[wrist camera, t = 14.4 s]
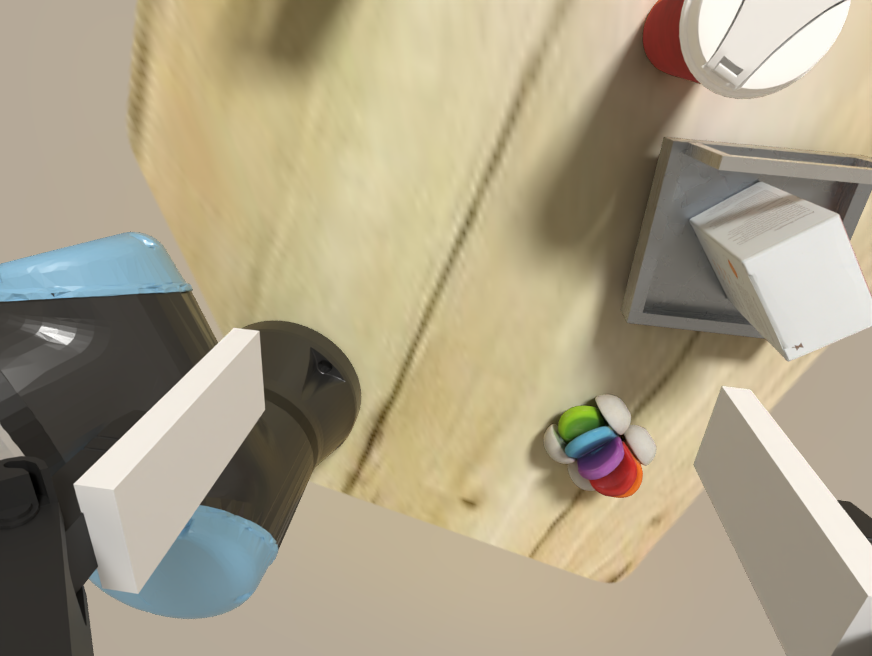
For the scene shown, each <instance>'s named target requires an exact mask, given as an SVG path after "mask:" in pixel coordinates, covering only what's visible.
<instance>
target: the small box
mask: <svg viewBox="0 0 872 656" xmlns="http://www.w3.org/2000/svg"><path fill="white" fill-rule="evenodd" d="M689 222H690V224H691V225H692V227H693V229H694V231H695V233H696V235H697V237H698V239H699V241H700V243H701V245H702V247H703V249H704V251H705V253H706V255H707V257H708V259H709V261H710V263H711V265H712V267H713V269H714V272H715V274H716V276H717V277H718V279H719V281H720V283H721V285H722V288H723V290H724V292H725V294H726V296H727V298H728V300H729V301H730V302H731V304H732V305H733V306H734V307H735V308H736V309H737V310H738V311H739V312H740V313H741V314H742V315H743V316H744V317H745V318H746V319H747V320H748V321H749V323H750V324H751V325H752V326H753V327H754V328H755V329H756V330H757V331H758V332H759V333H760V334H761V335H762V336H763V337H764V338H765V339H766V340H767V341H768V342H769V343H770V344H771V345H772V346H773V347H774V348H775V349H776V350H777V351H778V352H779V353H780V354H781V355H782V356H783V357H784V358H785V359H786V360H787V361H791V360H794V359H796V358H798V357H801V356H803V355H806V354H808V353H810V352H813V351H815V350H817V349H820V348H822V347H824V346H827V345H829V344H832V343H834V342H836V341H839V340H841V339H843V338H846V337H848V336H850V335H853V334H855V333H857V332H860V331H862V330H864V329H867V328H869V327H871V326H872V295H871V293H870V290H869V288H868V285H867V283H866V280H865V278H864V275H863V273H862V270H861V268H860V265H859V263H858V260H857V258H856V255H855V253H854V250H853V248H852V245H851V243H850V240H849V237H848V235H847V232H846V230H845V227H844V225H843V222H842V220H841V217H840V215H839V214H837V213H835V212H833V211H830V210H828V209H826V208H823V207H821V206H818V205H816V204H814V203H811V202H809V201H806V200H804V199H802V198H799V197H797V196H794V195H792V194H790V193H788V192H785V191H783V190H780V189H778V188H776V187H773V186H771V185H768V184H766V183H764V182H758V183H756V184H754V185H752V186H750V187H749V188H747V189H745V190H743V191H741V192H739V193H737V194H735V195H734V196H732V197H730V198H728V199H726V200H724V201H722V202H720V203H719V204H717V205H715V206H713V207H711V208H709V209H708V210H706V211H704V212H702V213H700V214H698V215H697V216H695V217H693V218H691V219H690V220H689Z"/></svg>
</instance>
